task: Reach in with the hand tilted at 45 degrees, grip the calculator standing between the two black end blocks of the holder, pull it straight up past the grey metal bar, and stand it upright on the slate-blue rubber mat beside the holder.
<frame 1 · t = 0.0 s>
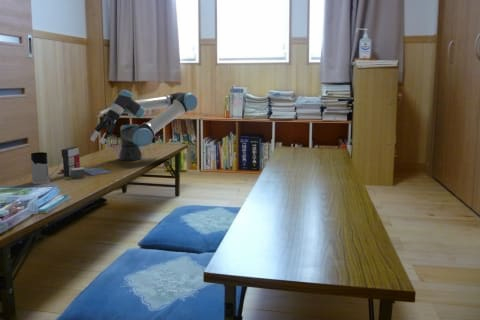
hand: (96, 141, 266), 15 cm above the table, tool tilted 35°, fingers open, 13 cm apart
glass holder: (46, 182, 228), on the table
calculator: (72, 175, 245), resting in slot holder
rubber mat: (95, 171, 254), on the table
slot holder: (72, 174, 245), on the table
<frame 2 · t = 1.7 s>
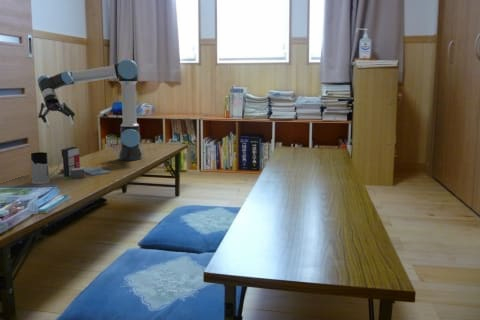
hand: (60, 125, 251), 26 cm above the table, tool tilted 45°, fingers open, 13 cm apart
nothing on the table moved.
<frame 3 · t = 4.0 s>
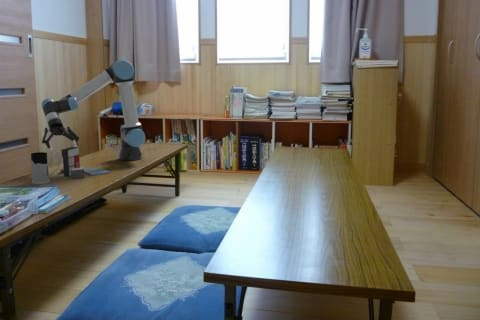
hand: (64, 151, 246), 13 cm above the table, tool tilted 45°, fingers open, 13 cm apart
nothing on the table moved.
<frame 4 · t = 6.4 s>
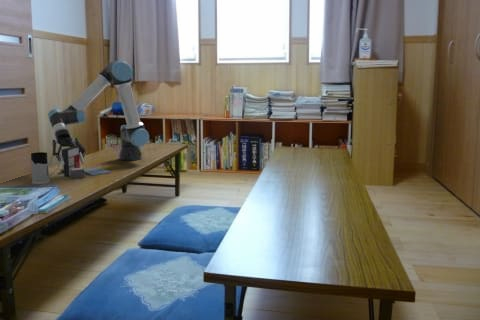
hand: (73, 164, 242), 7 cm above the table, tool tilted 45°, fingers closed on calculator, 10 cm apart
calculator: (72, 175, 245), resting in slot holder, touching gripper
everything else where it was.
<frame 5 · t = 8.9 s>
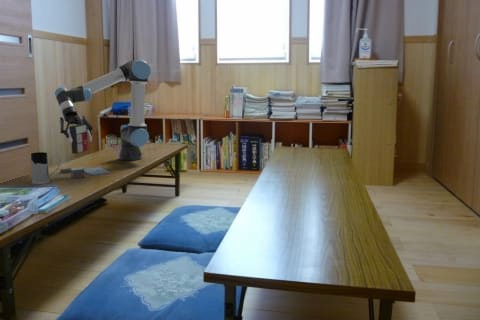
hand: (81, 141, 243), 19 cm above the table, tool tilted 45°, fingers closed on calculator, 10 cm apart
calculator: (80, 152, 246), point 12 cm above the table, touching gripper
everything else where it was.
when the fingers open (9 cm above the table, at t = 11.6 s): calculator drops 1 cm, resting on rubber mat.
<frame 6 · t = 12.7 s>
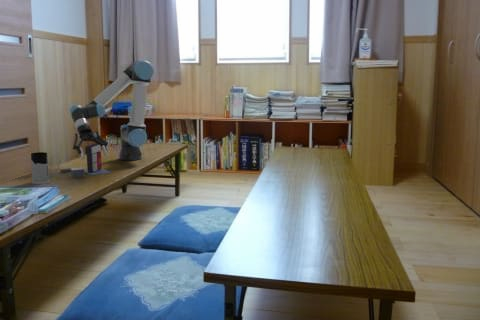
hand: (95, 156, 252), 9 cm above the table, tool tilted 45°, fingers open, 13 cm apart
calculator: (94, 171, 254), resting on rubber mat
everything else where it was.
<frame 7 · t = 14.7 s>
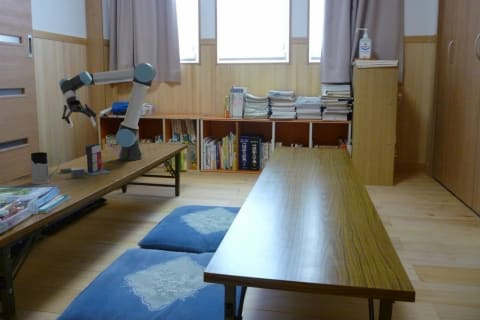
hand: (83, 126, 260), 25 cm above the table, tool tilted 45°, fingers open, 13 cm apart
nothing on the table moved.
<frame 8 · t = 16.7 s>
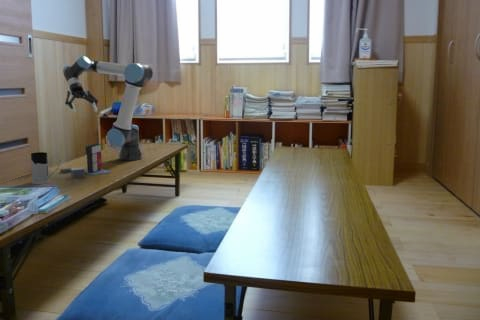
hand: (86, 111, 270), 33 cm above the table, tool tilted 45°, fingers open, 13 cm apart
nothing on the table moved.
at the end: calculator inside the target area (0.5 cm from its centre), resting on rubber mat; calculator tilted 0°; the gripper is holding nothing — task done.
